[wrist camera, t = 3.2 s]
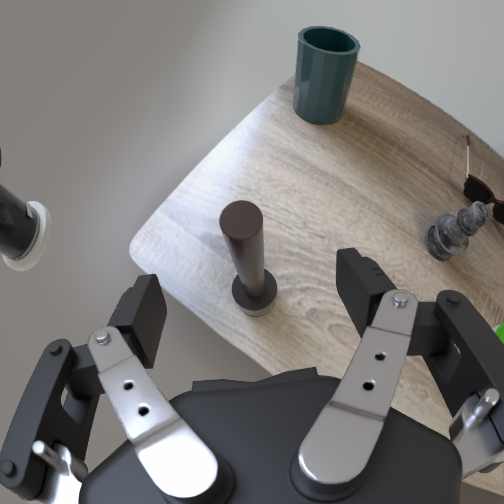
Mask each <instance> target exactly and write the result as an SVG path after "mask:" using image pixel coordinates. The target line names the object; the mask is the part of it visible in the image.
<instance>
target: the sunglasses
mask: <svg viewBox="0 0 504 504" xmlns="http://www.w3.org/2000/svg"><path fill="white" fill-rule="evenodd" d="M469 138H470V135H469V134H468V135H467V176H466V179H467V180H466V181H465V183H464V189H463V195H464V197H465V198H466V199H467V200H468V201H470V202H471V203H474V202H476V201H480V202H483V203H484V204H485V205H487V204H489V203H495V205H494V207H493V214H492V216H493V219H494V220H495V221H496V222H498V223H499V224H501V225H503V226H504V201H501V200H497V199H496V198H495V196H494V194H493V192H492V191H491V189H490V188H489V187H488V186H487V185H486V184H485V183H484V182H482V181H481V180H479V179H478V178H476V177H474V176H472V175H470V174H469Z"/></svg>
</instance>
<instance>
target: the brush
mask: <svg viewBox="0 0 504 504" xmlns="http://www.w3.org/2000/svg"><path fill="white" fill-rule="evenodd" d="M219 224H220V228H221V230H222V233H223V236H224V238H225V241H226V244H227V246H228V249H229V252H230V254H231V257H232V260H233V262H234V265H235V268H236V270H237V273H238V274H237V275H236V277H235V278H234V281H233V284H232V294H233V297H234V299H235V301H236V302H237V304H238V305H239V307H240V308H241V310H242V311H243V312H244V313H245V314H247V315H249V316H253V317H260V316H263V315H265V314H267V313H268V312H269V311H270V310H271V309H272V308H273V306H274V303H275V298H276V293H277V284H276V281H275V278H274V277H273V275H272V274H271V273H270V272H269V271H267V270H266V269H264V240H263V216H262V213H261V211H260V209H259V208H258V207H257V206H256V205H255V204H253V203H251V202H249V201H243V200H240V201H235V202H232V203H230V204H229V205H227V206H226V207H225V208H224V209H223V211H222V212H221V215H220V218H219Z"/></svg>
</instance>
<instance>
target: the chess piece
mask: <svg viewBox="0 0 504 504" xmlns="http://www.w3.org/2000/svg"><path fill="white" fill-rule="evenodd" d="M488 220H489V205H485V204H484V203H483V202H480V201H476V202H474V203H473V204H472V205H471V206H469V207H468V208H467V209H461V210H460V211H459V212H458V216H457V217H456V216H455V215H452V214H448V213H446V214H442V215H441V216H440V217H439V218H438V220H437V222H436V225H435V226H432V227H430V228H429V229H428V231H427V233H426V239H425V241H426V246H427V248H428V250H429V252H430V253H431V255H432V256H433V257H435V258H436V259H438V260H441V261H445V260H448V259H449V258H450V257H451V256H452V255H460V254H462V253H463V252H464V251H466V249H467V247H468V236H474V235H475V234H476V233H477V231H478V229H479V228H480V227H482V226H483V225H485V224H486V223H487V222H488Z"/></svg>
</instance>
